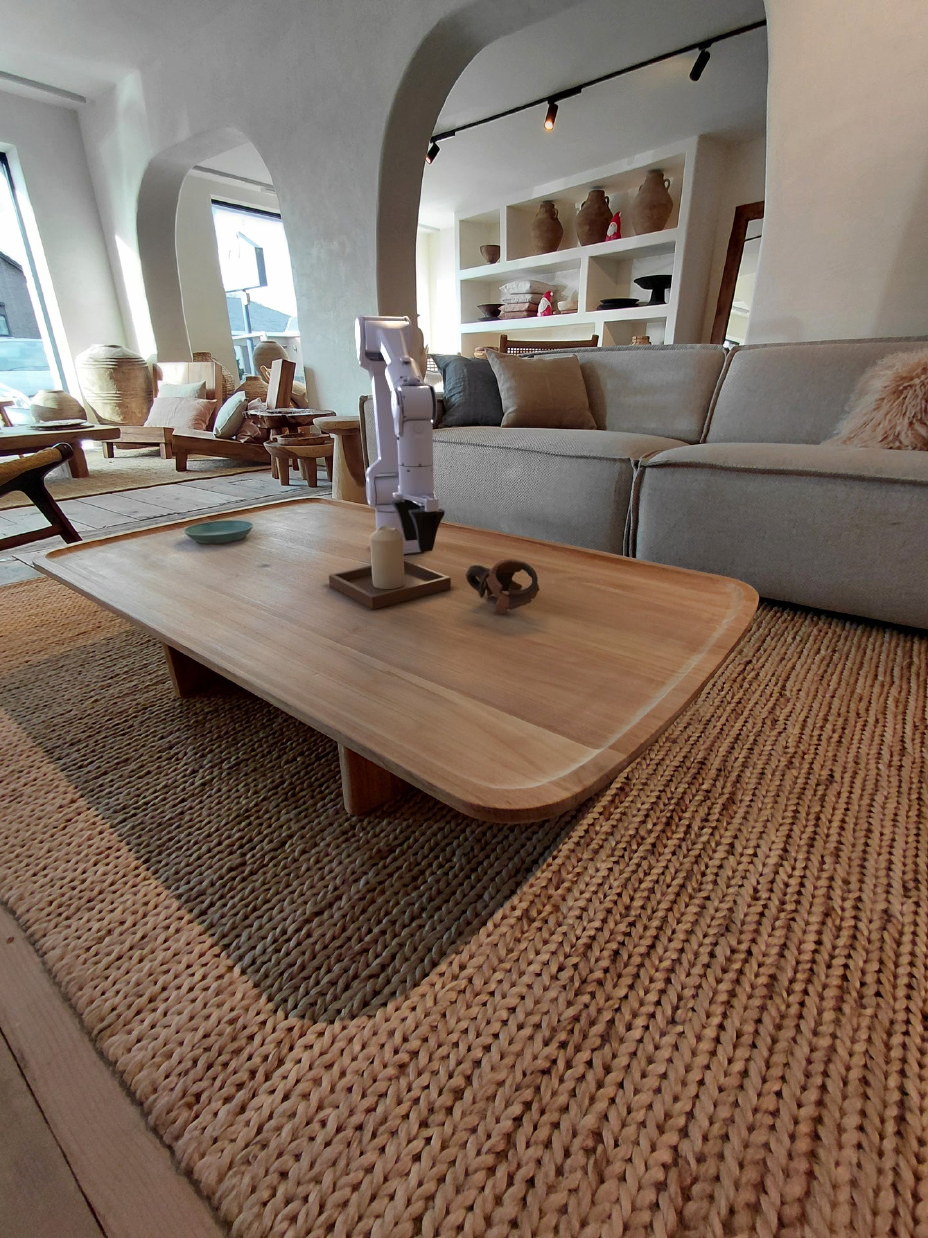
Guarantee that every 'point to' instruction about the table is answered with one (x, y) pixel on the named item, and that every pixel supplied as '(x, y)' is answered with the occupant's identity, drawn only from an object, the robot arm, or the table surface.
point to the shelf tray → (363, 590)
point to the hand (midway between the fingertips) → (418, 545)
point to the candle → (387, 558)
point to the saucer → (218, 531)
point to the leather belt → (503, 583)
